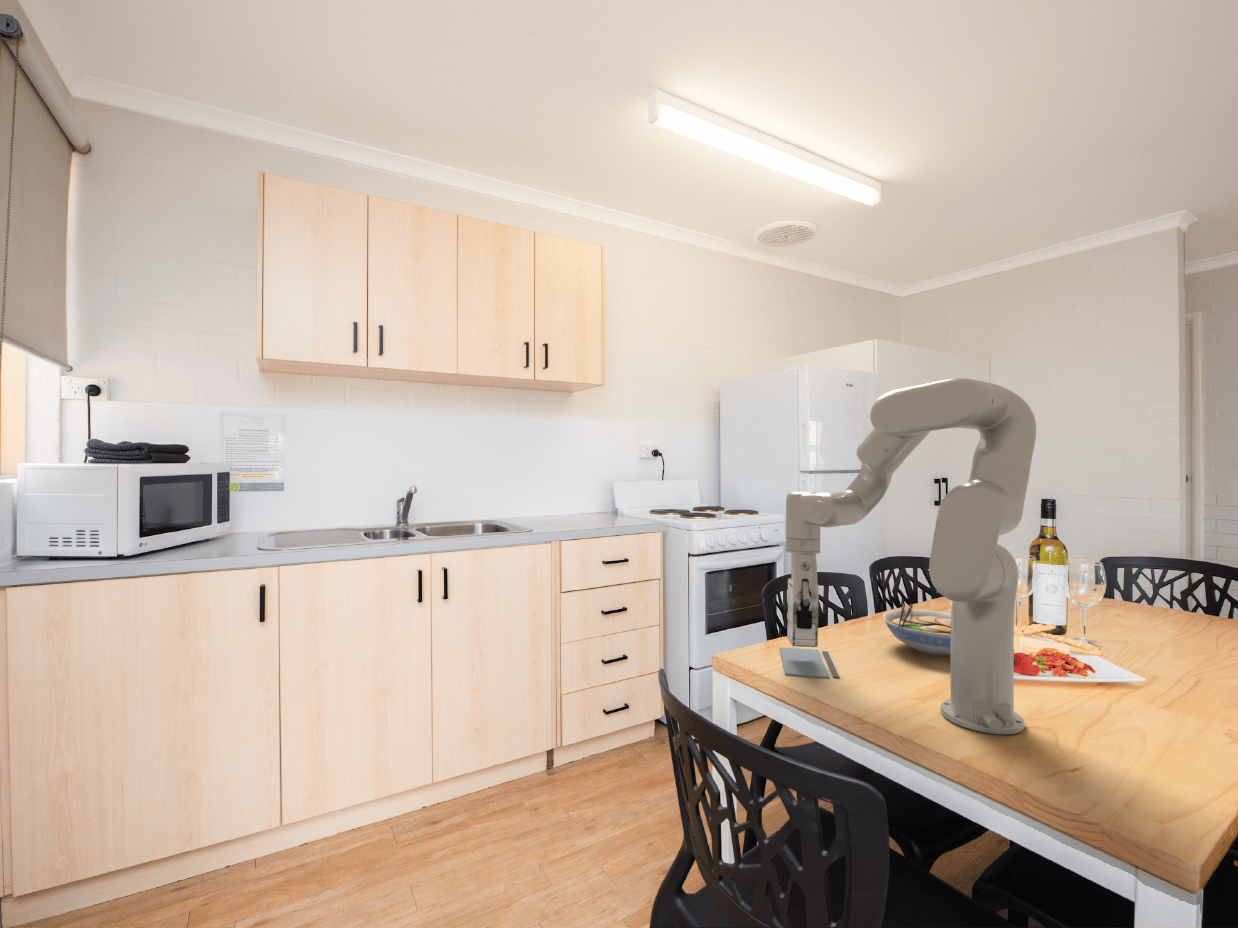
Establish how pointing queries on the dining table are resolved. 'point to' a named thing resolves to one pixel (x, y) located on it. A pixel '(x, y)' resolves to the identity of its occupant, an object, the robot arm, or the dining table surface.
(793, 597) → the syrup box
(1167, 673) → the dining table surface
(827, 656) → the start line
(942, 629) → the ramen bowl
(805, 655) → the mat
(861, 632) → the dining table surface
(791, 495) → the robot arm
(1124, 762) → the dining table surface
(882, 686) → the dining table surface
